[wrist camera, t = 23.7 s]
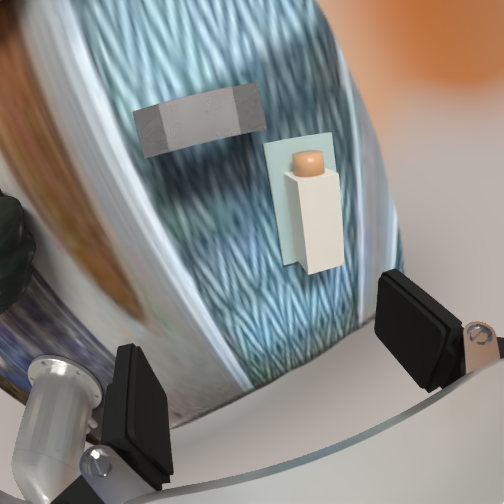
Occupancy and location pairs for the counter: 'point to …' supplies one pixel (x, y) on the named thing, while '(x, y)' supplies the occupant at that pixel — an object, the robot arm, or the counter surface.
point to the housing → (199, 119)
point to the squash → (14, 252)
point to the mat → (277, 164)
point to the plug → (315, 212)
